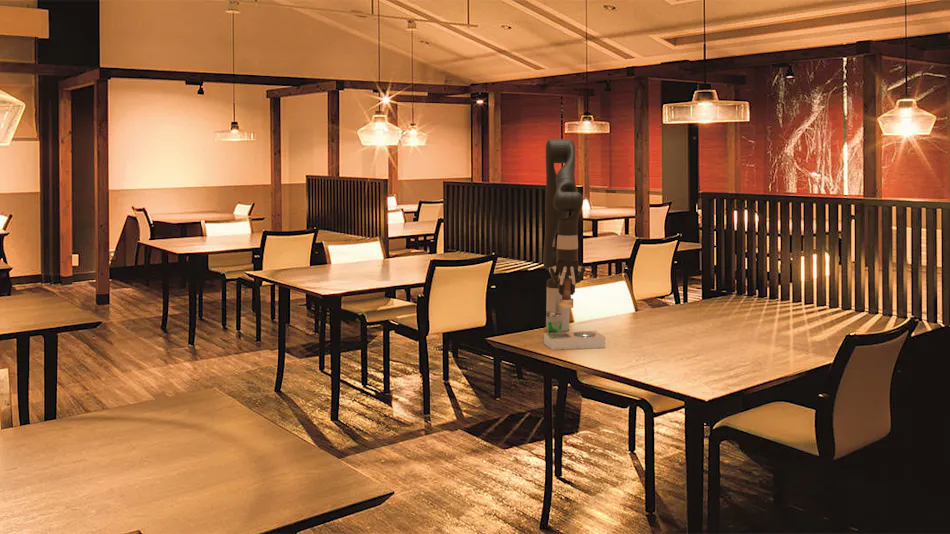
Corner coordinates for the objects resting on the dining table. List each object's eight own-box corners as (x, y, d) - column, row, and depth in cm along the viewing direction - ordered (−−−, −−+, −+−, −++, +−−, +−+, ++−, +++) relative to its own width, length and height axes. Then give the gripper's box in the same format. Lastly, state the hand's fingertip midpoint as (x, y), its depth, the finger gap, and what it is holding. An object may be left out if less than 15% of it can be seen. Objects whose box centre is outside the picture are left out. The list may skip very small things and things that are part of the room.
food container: (564, 343, 319) (565, 316, 318) (548, 343, 320) (548, 316, 318) (562, 336, 332) (562, 310, 330) (546, 336, 332) (546, 310, 331)
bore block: (543, 343, 319) (543, 332, 319) (595, 341, 323) (595, 330, 322) (551, 349, 308) (551, 338, 308) (605, 347, 312) (605, 336, 312)
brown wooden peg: (557, 306, 315) (558, 279, 314) (571, 305, 316) (571, 278, 315) (561, 308, 311) (561, 281, 309) (574, 308, 311) (575, 280, 310)
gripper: (583, 246, 315) (582, 292, 318) (545, 246, 313) (545, 293, 315) (589, 248, 308) (588, 296, 310) (550, 248, 306) (550, 297, 308)
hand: (566, 294), depth 313 cm, fingers closed on brown wooden peg, 3 cm apart
